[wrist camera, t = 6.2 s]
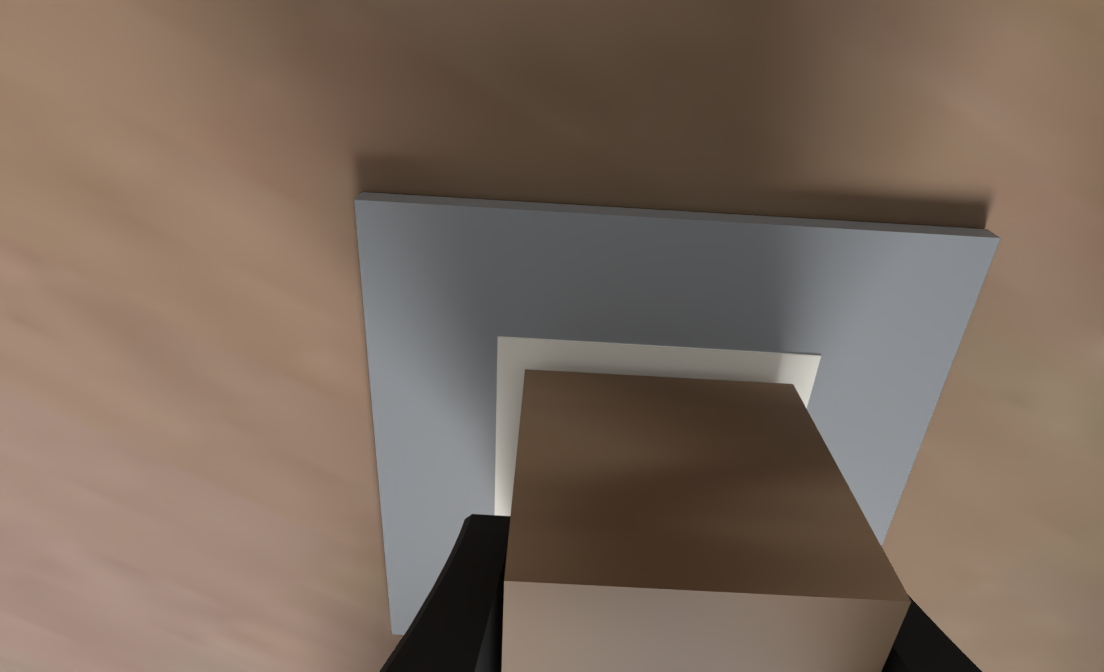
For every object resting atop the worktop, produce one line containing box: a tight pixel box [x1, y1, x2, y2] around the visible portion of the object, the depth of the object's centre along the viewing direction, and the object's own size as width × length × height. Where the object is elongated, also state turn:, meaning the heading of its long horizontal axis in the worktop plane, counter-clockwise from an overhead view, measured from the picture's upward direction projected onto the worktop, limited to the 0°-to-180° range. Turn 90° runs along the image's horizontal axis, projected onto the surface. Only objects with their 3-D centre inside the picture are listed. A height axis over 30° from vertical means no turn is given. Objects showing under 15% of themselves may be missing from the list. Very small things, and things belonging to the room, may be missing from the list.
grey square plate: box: [354, 192, 1000, 635], centre depth 13 cm, size 10×10×1 cm
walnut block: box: [501, 369, 911, 672], centre depth 11 cm, size 4×4×4 cm
